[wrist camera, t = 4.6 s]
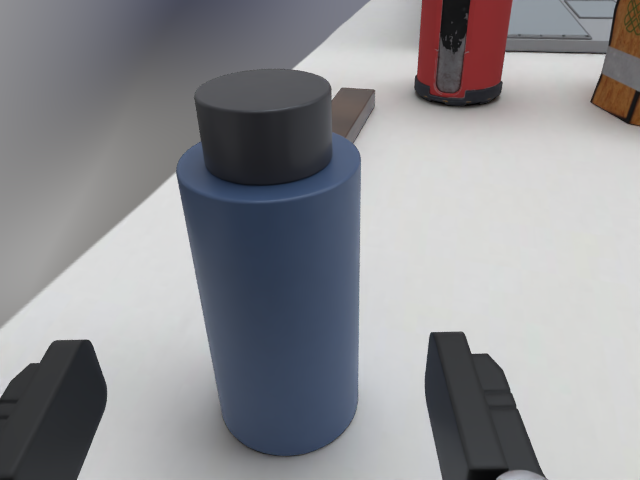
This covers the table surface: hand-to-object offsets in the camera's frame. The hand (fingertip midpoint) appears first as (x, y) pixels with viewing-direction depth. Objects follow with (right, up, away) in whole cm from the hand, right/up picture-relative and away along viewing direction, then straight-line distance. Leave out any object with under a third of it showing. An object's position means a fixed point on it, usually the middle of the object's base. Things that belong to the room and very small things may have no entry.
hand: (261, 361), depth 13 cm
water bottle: (0, -3, +8) cm, 8 cm away
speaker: (+14, +16, +37) cm, 43 cm away
